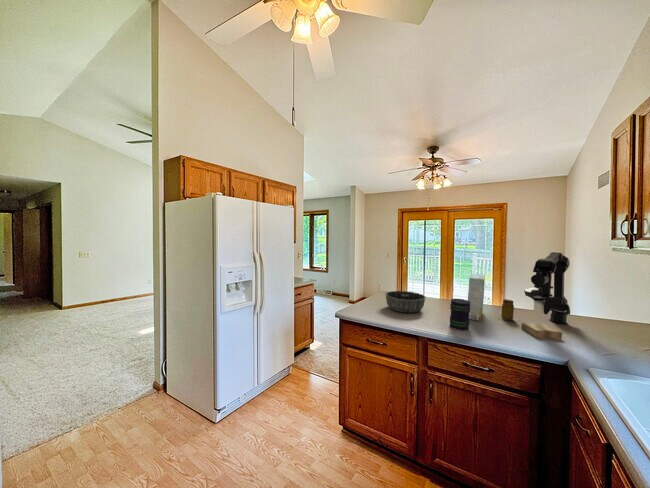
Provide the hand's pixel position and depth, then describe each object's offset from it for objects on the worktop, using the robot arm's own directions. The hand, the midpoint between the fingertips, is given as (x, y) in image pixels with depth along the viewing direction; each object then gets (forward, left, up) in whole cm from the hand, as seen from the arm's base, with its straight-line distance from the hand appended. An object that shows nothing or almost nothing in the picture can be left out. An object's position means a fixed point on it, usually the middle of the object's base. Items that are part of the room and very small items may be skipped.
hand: (541, 312), depth 139 cm
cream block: (0, 0, -2) cm, 2 cm away
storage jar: (+40, -3, -12) cm, 42 cm away
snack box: (+22, -26, -12) cm, 36 cm away
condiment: (+4, -22, -12) cm, 25 cm away
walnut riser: (0, 0, -12) cm, 12 cm away
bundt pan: (+65, -32, -12) cm, 73 cm away
